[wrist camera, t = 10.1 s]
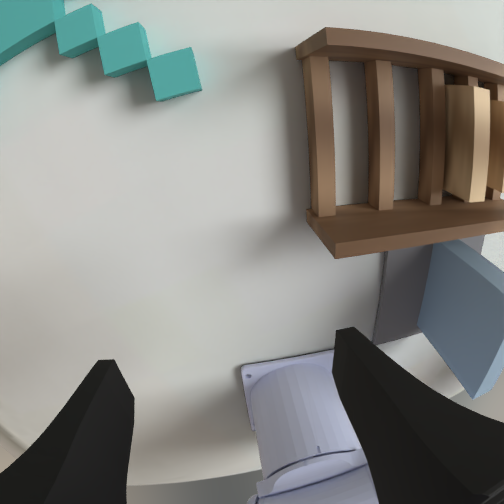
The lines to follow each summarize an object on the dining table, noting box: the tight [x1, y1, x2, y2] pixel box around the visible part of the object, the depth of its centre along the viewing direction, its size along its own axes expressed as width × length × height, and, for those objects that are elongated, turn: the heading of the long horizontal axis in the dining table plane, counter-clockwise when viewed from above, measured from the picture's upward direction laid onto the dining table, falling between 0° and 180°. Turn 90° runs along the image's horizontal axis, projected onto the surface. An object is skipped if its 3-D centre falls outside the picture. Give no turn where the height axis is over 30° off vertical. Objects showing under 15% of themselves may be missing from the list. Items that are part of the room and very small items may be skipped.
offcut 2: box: [486, 100, 504, 193], centre depth 16 cm, size 6×2×4 cm, turn 5°
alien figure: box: [0, 0, 202, 101], centre depth 10 cm, size 20×2×20 cm
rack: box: [295, 27, 504, 259], centre depth 15 cm, size 10×16×5 cm, turn 95°
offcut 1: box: [443, 85, 490, 202], centre depth 16 cm, size 7×2×4 cm, turn 5°
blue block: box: [417, 239, 504, 399], centre depth 18 cm, size 8×2×9 cm, turn 6°
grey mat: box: [372, 235, 485, 345], centre depth 22 cm, size 10×10×1 cm
